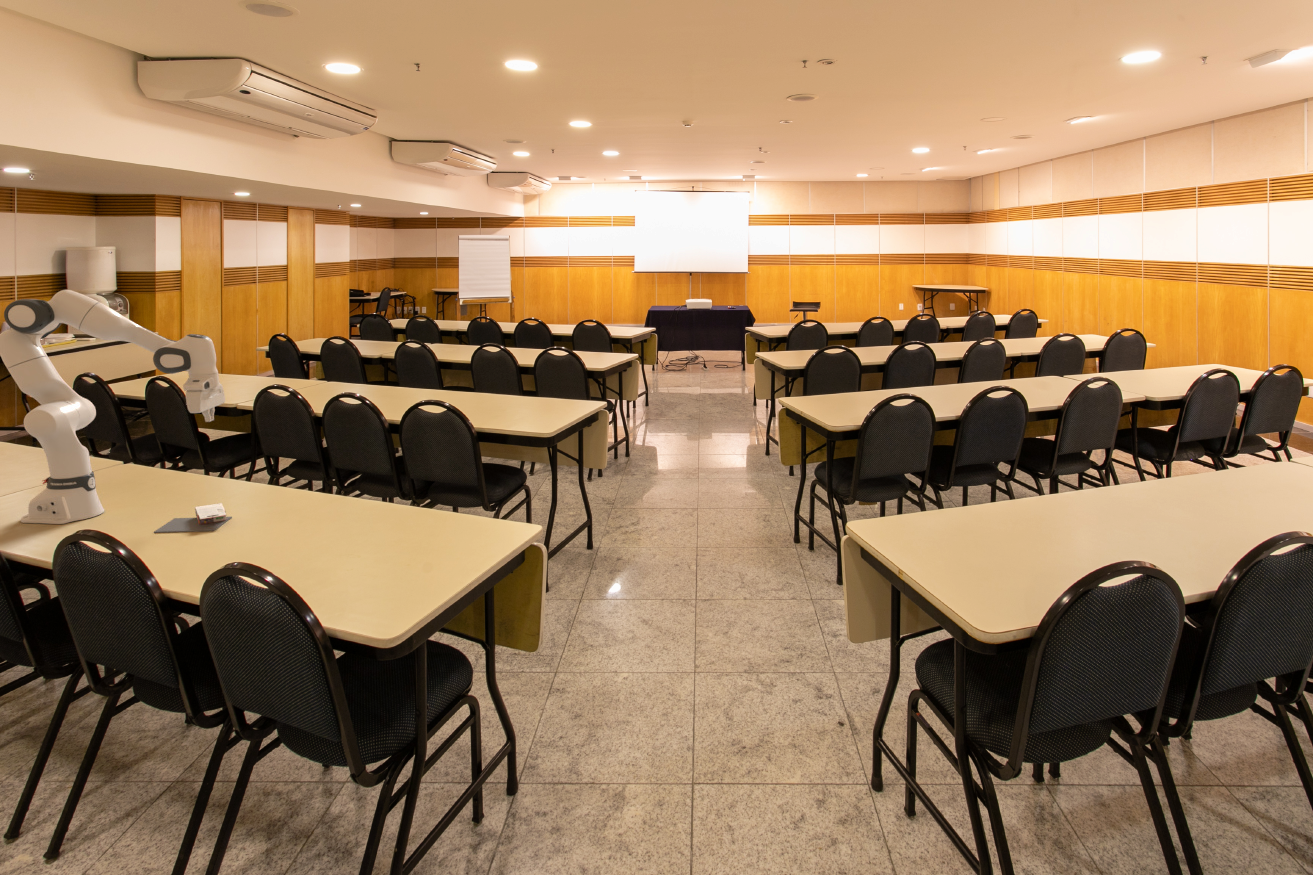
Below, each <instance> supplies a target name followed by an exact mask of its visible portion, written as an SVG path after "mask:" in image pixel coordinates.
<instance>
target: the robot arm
mask: <svg viewBox="0 0 1313 875" xmlns="http://www.w3.org/2000/svg"><path fill="white" fill-rule="evenodd" d="M3 318H4V321H5V323H6V324H7V325H8V327H9V329H6V330H4V331H2V332H0V357H1V360H2V362H3V364H4V365H5V367H6V369H7V371H8V372H9V374H10V375H11V377H12V379H13V380H14V382H15V384H17V387H18V388H19V390H20V391H21V392H22V393H23V394H26V395H28V396H30V397H31V398H33V399H34V400H36V402H38V403H39V404H40V405H38V406H36V407H35V408H33V409H31V410H30V411H29V412H28V413H27V414H26V415H25V416H24V418H23V426H24V429H25V431H26V432H27V433H28V434H29V435H30V436H31V437H33V438H35V439H36V440H37V441H38V442H39V444H40V446H41V448H42V449H43V451H44V454H45V457H46V461H47V465H48V466H47V467H48V471H49V476H48V477H46V479H43V480H42V485H44V484H46V488H44V489H43V490H42V491H41V492H39V493H38V494H37V495H35V497H33V498H32V499H31V500H30V501H29V503H28V507H27V508H28V510H27V513H26V514H24V515H23V516H22V517H21V518H20V523H22V524H23V523H24V524H48V525H49V524H55V525H64V524H67V523H71V522H75V521H82V520H85V519H90V518H93V517H97V516H99V515H101V514H104V512H105V509H104V507H103V505H102V503H101V501H100V498H99V496H98V493H97V489H96V488H97V486H96V484H97V483H96V477H95V474H94V471H93V469H92V465H91V464H92V463H91V459H90V452H89V450H88V448H87V447H86V446H84V445H83V444H82V443H81V442H80V440H79V438H78V437H77V434H76V431H79V430H82V429H83V428H85V427H88V425H89V424H91V423H92V422H93V421H94V420H95V418H96V416H97V410H96V406H95V405H94V404H93V402H91V400H89V399H88V398H85V397H83V396H81V395H79V394H78V393H77V392H76V391H75V390H74V389H73V388H72V387H71V386H69V384H68V383H67V382H66V381H65V380H64V379H63V378H62V377H61V375H60V373H59V372H58V370H57V369H56V367H55V365H54V364H53V362H52V361H51V359H50V358H49V356H48V355H47V353H46V351H45V349H44V347H43V346H42V343H41V340H44V339H45V338H47V337H48V336H50V335H51V334H52V333H54V332H55V331H56V330H58V328H60V326H61V325H62V324H65V325H67V326H70V327H72V328H74V329H76V330H78V331H80V332H82V333H84V334H86V335H88V336H91V337H93V338H96V339H99V340H103V341H119V342H128V343H132V344H134V345H136V346H139V347H141V348H143V349H144V350H147V351H149V352H151V353H153V358H152V362H153V364H154V367H155V368H156V369H157V370H158V371H159V372H162V373H164V374H168V375H173V374H179V373H181V372H187V375H188V378H187V380H186V381H185V383H184V384H183V391H186V392H185V401H186V405H187V406H186V407H187V410H188V412H189V413H190V414H200V413H201V414H202V415H203V417H204V422H205V423H210V422H212V421H215V411H216V409H215V407H218V406H220V405H223V404H225V402H226V397H225V392H224V391H225V390H224V386H223V384H222V383H220V377H219V371H218V368H217V354H216V349H215V345H214V342H213V340H212V338H211V337H209V336H207V335H204V334H197V333H190V334H185V336H183V337H182V338H181V339H179V340H172V339H169V338H166V337H165V336H162V335H159V333H156V332H154V331H152V330H150V329H148V328H146V327H144V326H143V325H142V326H141V325H139V324H137V323H136V322H134V321H133V320H131V319H129V318H128V317H126V316H124V315H122V314H120V312H118V311H116V310H115V309H113V308H111V307H109V306H108V305H106V304H104V303H102V302H101V301H98V300H97V299H94V298H92V297H90V296H88V295H86V294H82V293H80V292H77V291H74V290H72V289H62V290H60V291H58V292H56V293H55V294H54V295H53V296H52V298H51V299H50V300H48V301H47V300H44V299H38V298H22V299H21V298H20V299H17V300H14V301H12V302H10V303H9V304H8V305H7V306H6V307H5V308H4V312H3Z"/></svg>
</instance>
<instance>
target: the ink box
mask: <svg viewBox="0 0 1313 875" xmlns="http://www.w3.org/2000/svg"><path fill="white" fill-rule="evenodd" d="M194 510H195V516H196V517H195V518H197V520H198V523H199V524H206V523H212V522H218V521H224V520H226V517H227V513H226V510H225V507H224V506H223V503H222V502H220V503H214V504H206V505H205V504H204V505H201V506H199V505H198V506H194Z"/></svg>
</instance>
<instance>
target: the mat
mask: <svg viewBox="0 0 1313 875" xmlns="http://www.w3.org/2000/svg"><path fill="white" fill-rule="evenodd" d="M232 518H233V516H226V520H224V521H218V522H212V523H206V524H199V523H198V520H197V517H174V518H172V519H171V520H169V521H168V522H166V523H165V524H163V525H162V526H160V527H159V528H157V529H156V530H154V531H153V534H161V533H162V534H165V533H168V534H170V533H193V532H195V533H197V532H199V533H200V532H203V533H204V532H216V531H217V529H219V528H220V527H222V526H223V525H224V524H226V523H227V522H228V521H230V520H231V519H232Z"/></svg>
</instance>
